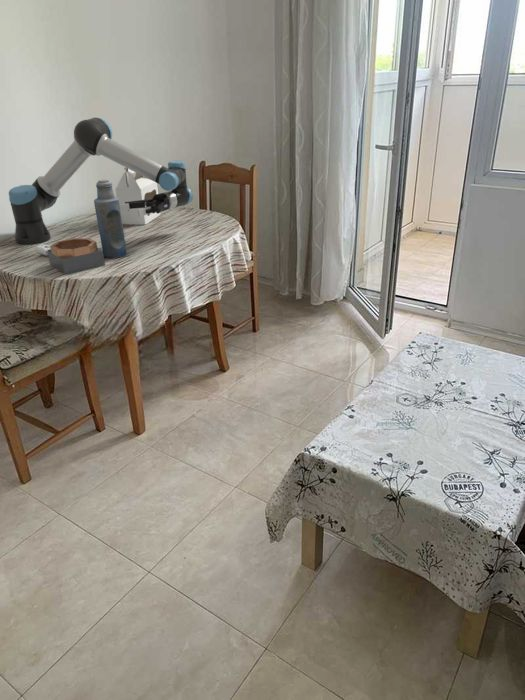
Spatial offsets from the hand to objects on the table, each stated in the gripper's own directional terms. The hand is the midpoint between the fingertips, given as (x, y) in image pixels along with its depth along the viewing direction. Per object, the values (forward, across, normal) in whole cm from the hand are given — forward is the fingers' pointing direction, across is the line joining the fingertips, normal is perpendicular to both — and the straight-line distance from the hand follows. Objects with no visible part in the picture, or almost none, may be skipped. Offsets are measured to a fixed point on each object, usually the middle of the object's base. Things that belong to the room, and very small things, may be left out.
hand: (127, 211), depth 219 cm
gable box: (-38, +37, -16) cm, 56 cm away
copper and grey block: (+27, +2, -16) cm, 31 cm away
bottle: (+10, 0, -16) cm, 19 cm away
